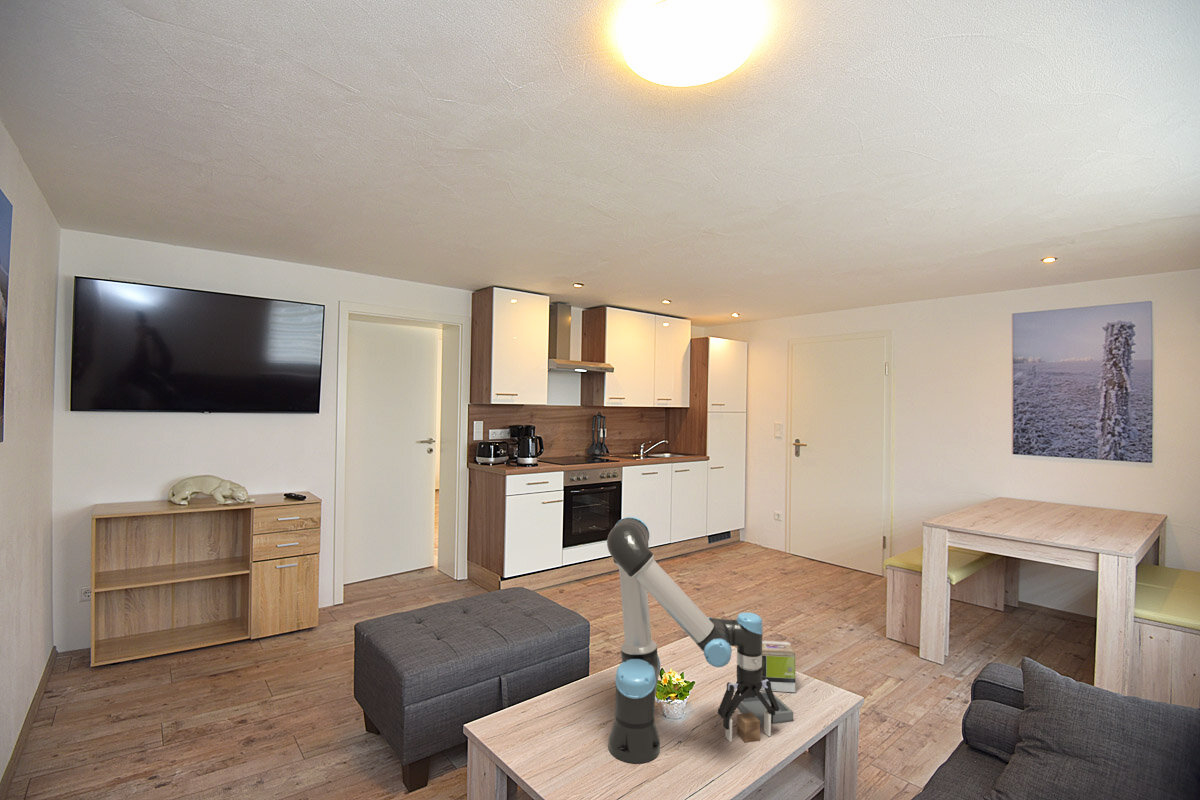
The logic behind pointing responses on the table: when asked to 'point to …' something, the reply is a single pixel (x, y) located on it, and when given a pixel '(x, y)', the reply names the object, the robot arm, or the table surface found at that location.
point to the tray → (758, 709)
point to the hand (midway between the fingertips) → (748, 736)
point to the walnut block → (748, 727)
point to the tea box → (778, 665)
